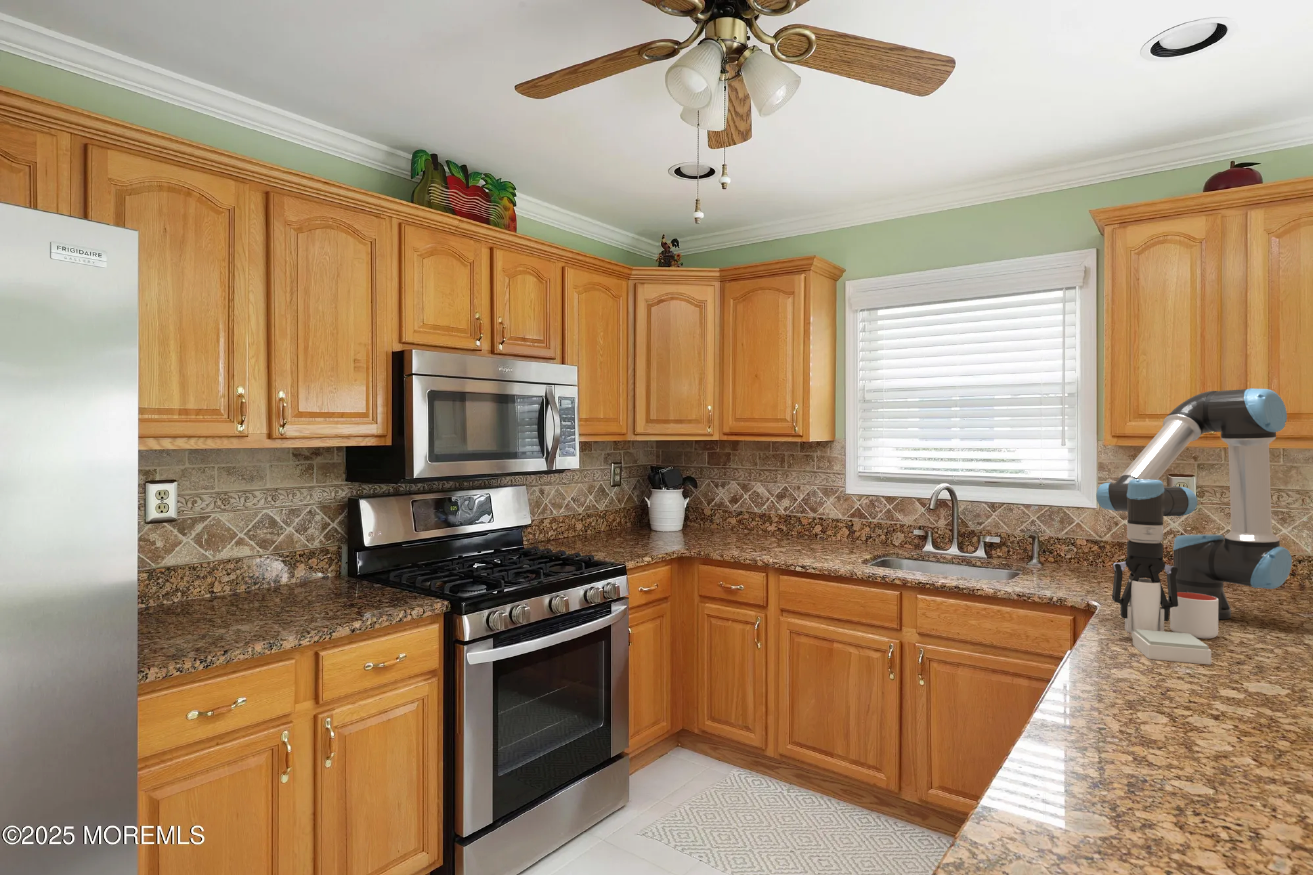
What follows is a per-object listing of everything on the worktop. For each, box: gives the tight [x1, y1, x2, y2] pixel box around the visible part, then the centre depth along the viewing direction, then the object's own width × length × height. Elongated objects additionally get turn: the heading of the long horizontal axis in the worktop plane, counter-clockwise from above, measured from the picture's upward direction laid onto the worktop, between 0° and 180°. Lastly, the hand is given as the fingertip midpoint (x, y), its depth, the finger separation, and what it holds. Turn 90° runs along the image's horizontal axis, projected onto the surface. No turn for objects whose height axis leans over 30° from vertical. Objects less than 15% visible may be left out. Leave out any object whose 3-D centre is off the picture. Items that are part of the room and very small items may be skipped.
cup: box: [1169, 592, 1219, 640], centre depth 185 cm, size 10×10×10 cm
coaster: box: [1132, 629, 1212, 666], centre depth 167 cm, size 12×12×4 cm
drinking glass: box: [1128, 578, 1162, 639], centre depth 179 cm, size 7×7×15 cm
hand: (1144, 632), depth 179 cm, fingers closed on drinking glass, 6 cm apart
